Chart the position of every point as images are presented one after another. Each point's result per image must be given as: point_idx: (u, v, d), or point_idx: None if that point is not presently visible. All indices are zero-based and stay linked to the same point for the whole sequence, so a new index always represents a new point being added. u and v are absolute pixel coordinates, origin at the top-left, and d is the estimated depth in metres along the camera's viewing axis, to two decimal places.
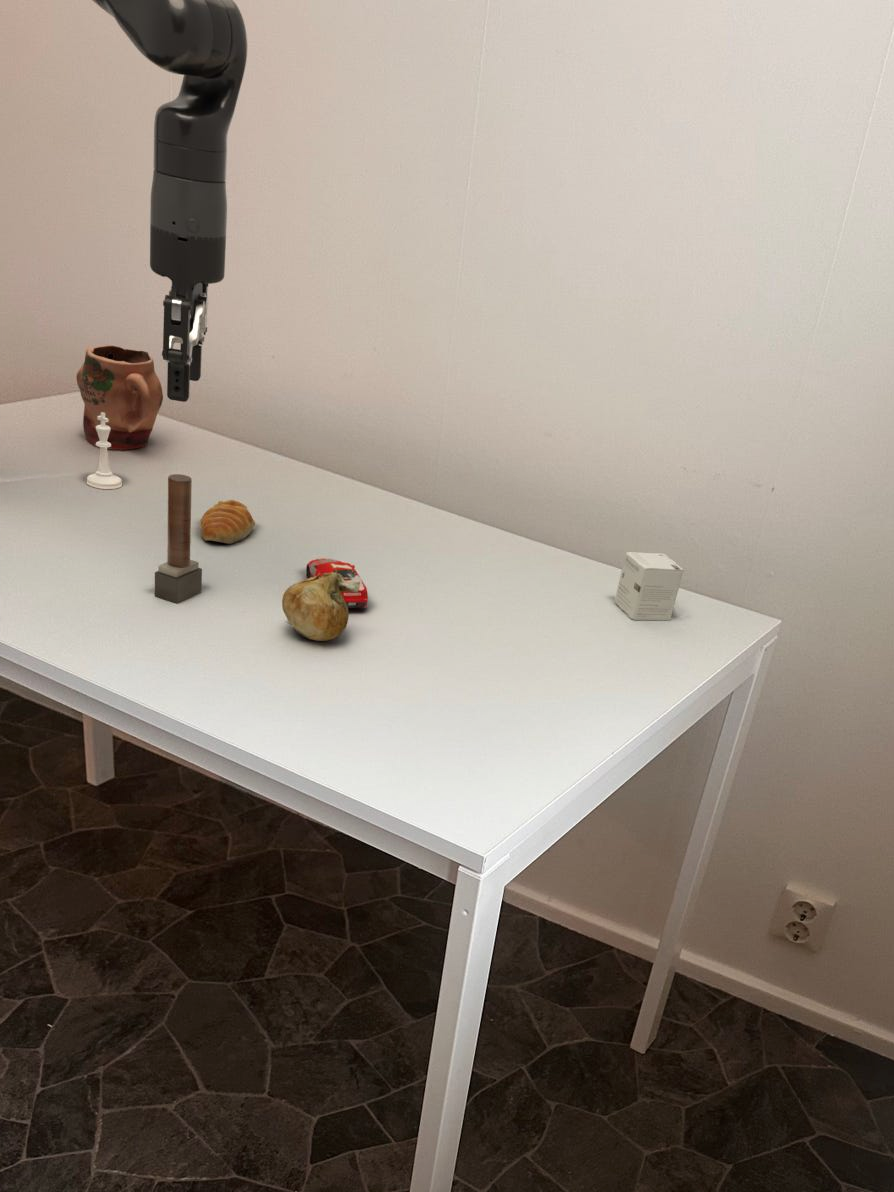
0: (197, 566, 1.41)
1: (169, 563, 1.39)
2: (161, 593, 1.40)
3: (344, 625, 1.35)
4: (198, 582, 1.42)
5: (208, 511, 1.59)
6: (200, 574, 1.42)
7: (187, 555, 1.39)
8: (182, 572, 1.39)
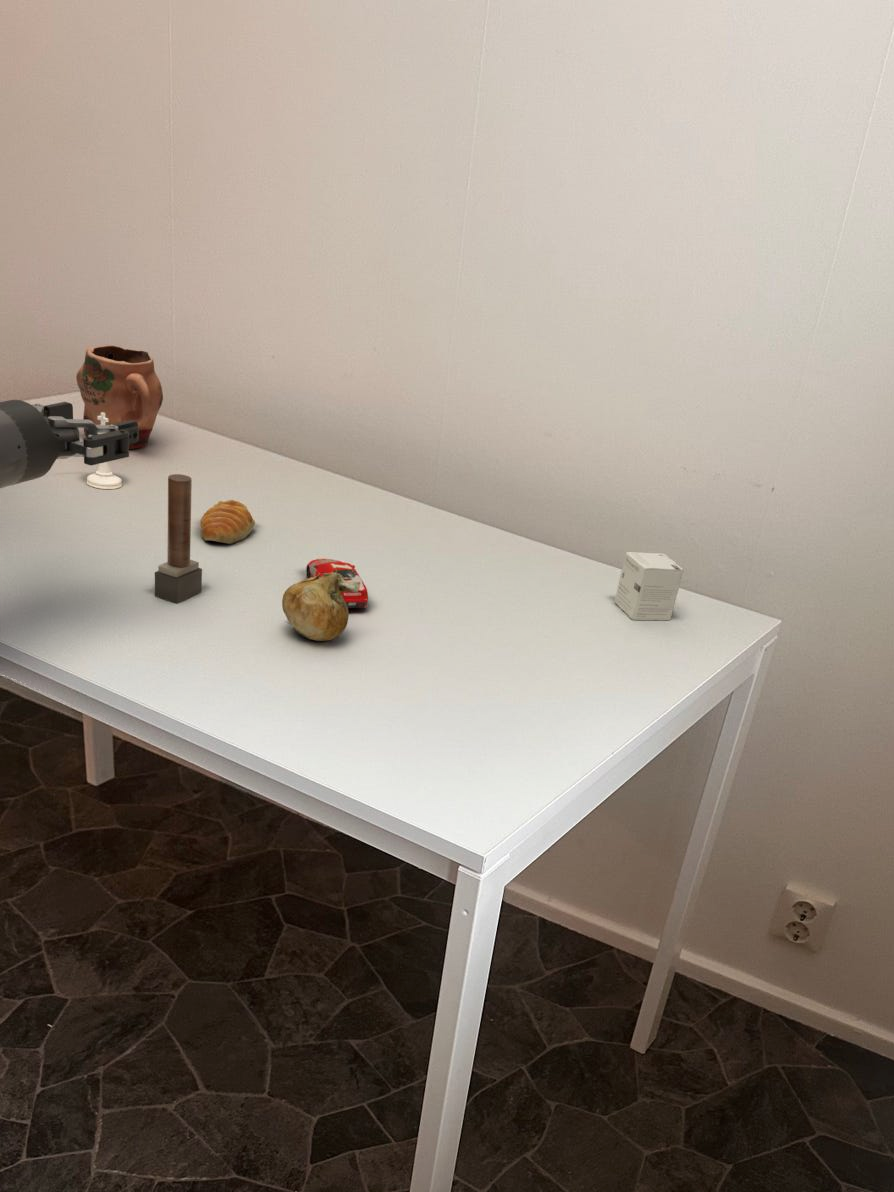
0: (197, 566, 1.41)
1: (169, 563, 1.39)
2: (161, 593, 1.40)
3: (344, 625, 1.35)
4: (198, 582, 1.42)
5: (208, 511, 1.59)
6: (200, 574, 1.42)
7: (187, 555, 1.39)
8: (182, 572, 1.39)
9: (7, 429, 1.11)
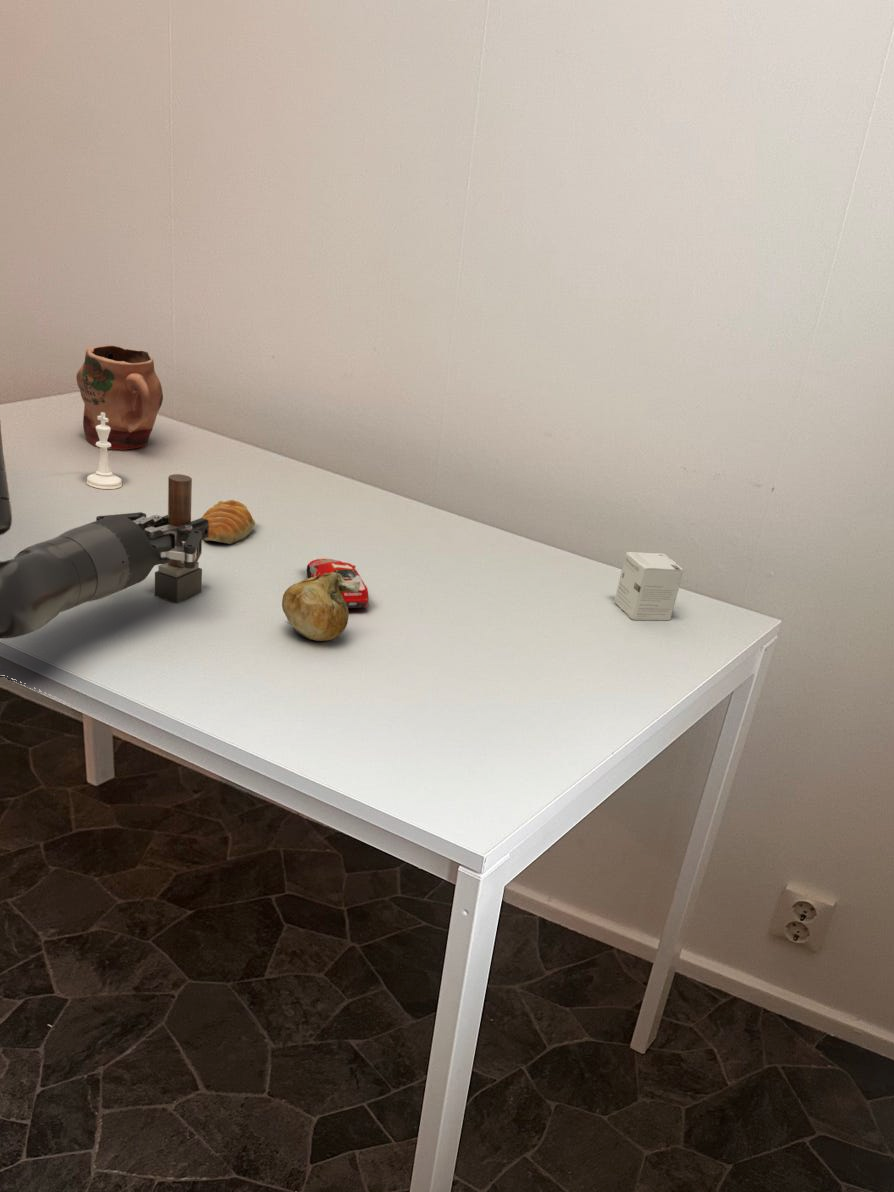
0: (197, 566, 1.41)
1: (169, 563, 1.39)
2: (161, 593, 1.40)
3: (344, 625, 1.35)
4: (198, 582, 1.42)
5: (208, 511, 1.59)
6: (200, 574, 1.42)
7: None
8: (182, 572, 1.39)
9: (113, 546, 1.23)
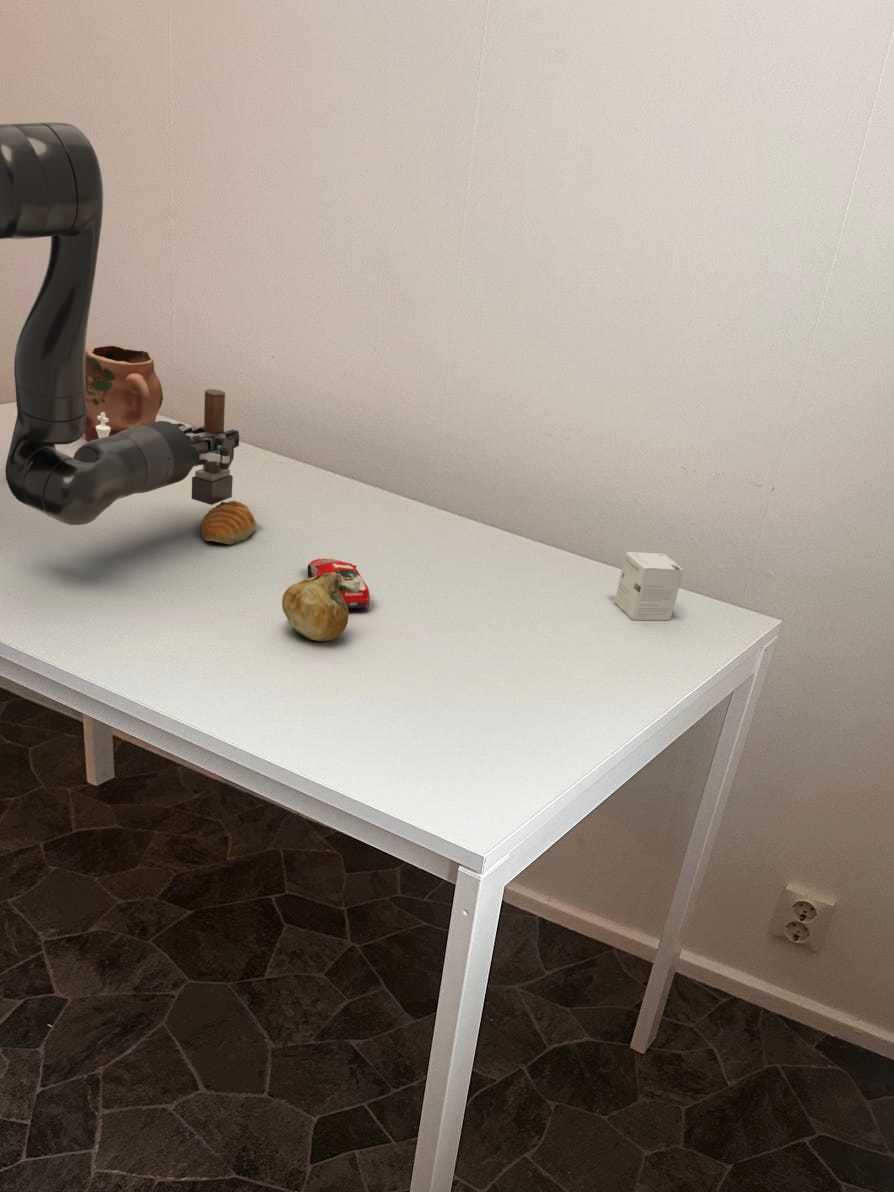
0: (228, 473, 1.61)
1: (204, 469, 1.58)
2: (197, 496, 1.59)
3: (344, 625, 1.35)
4: (229, 488, 1.62)
5: (209, 512, 1.59)
6: (231, 480, 1.61)
7: None
8: (216, 477, 1.58)
9: (160, 445, 1.43)
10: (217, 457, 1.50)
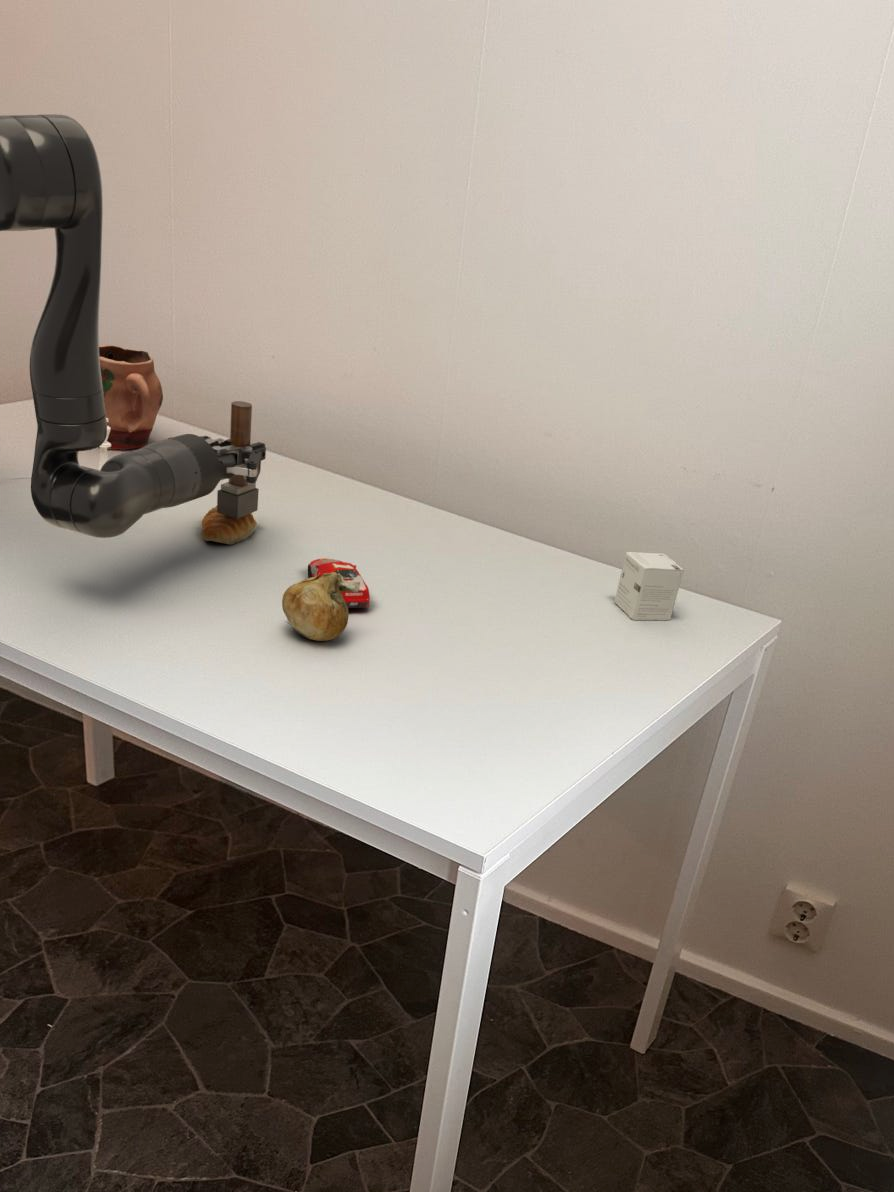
0: (254, 486, 1.58)
1: (230, 482, 1.55)
2: (223, 509, 1.56)
3: (344, 625, 1.35)
4: (255, 501, 1.59)
5: (209, 512, 1.59)
6: (257, 493, 1.58)
7: None
8: (242, 490, 1.55)
9: (188, 458, 1.40)
10: (244, 471, 1.47)
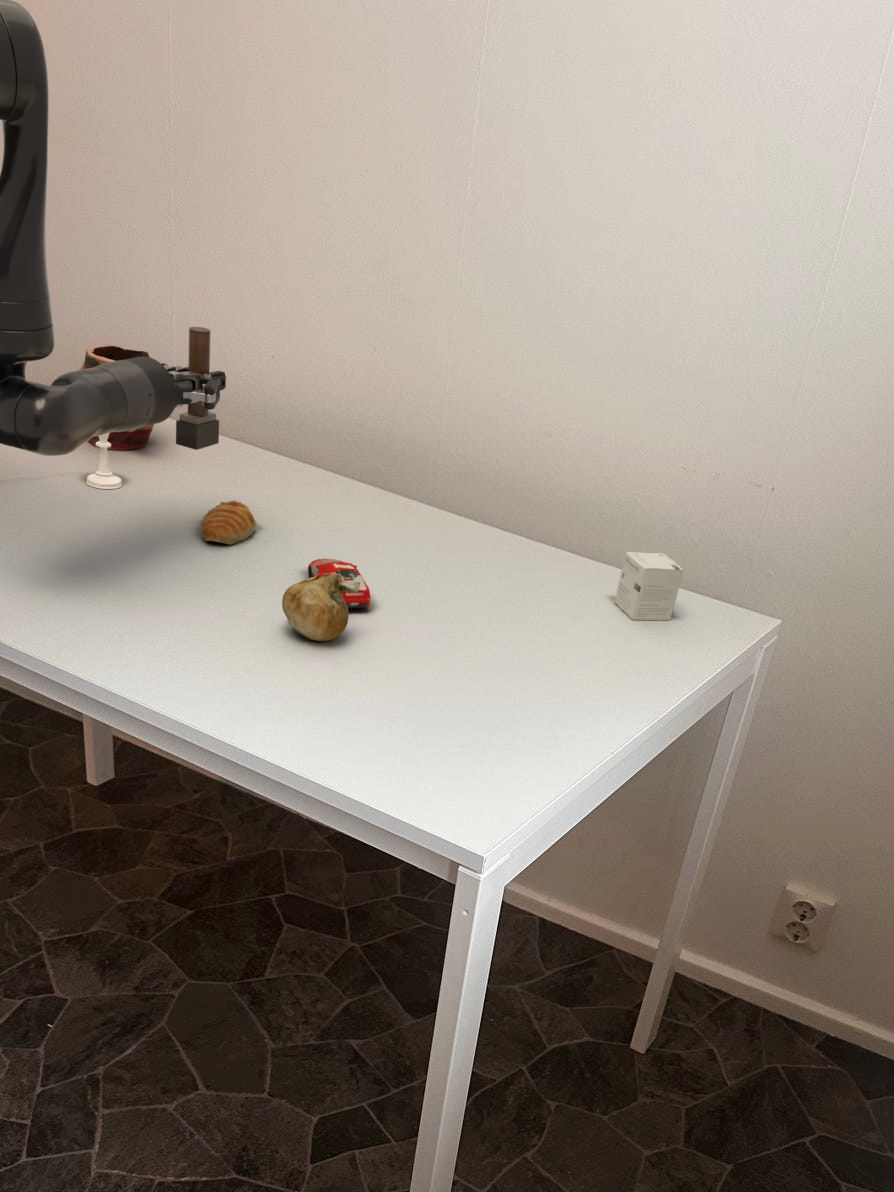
0: (215, 417, 1.53)
1: (189, 412, 1.51)
2: (182, 440, 1.51)
3: (344, 625, 1.35)
4: (215, 433, 1.54)
5: (209, 512, 1.59)
6: (217, 425, 1.54)
7: None
8: (201, 420, 1.51)
9: (141, 379, 1.35)
10: (202, 396, 1.42)
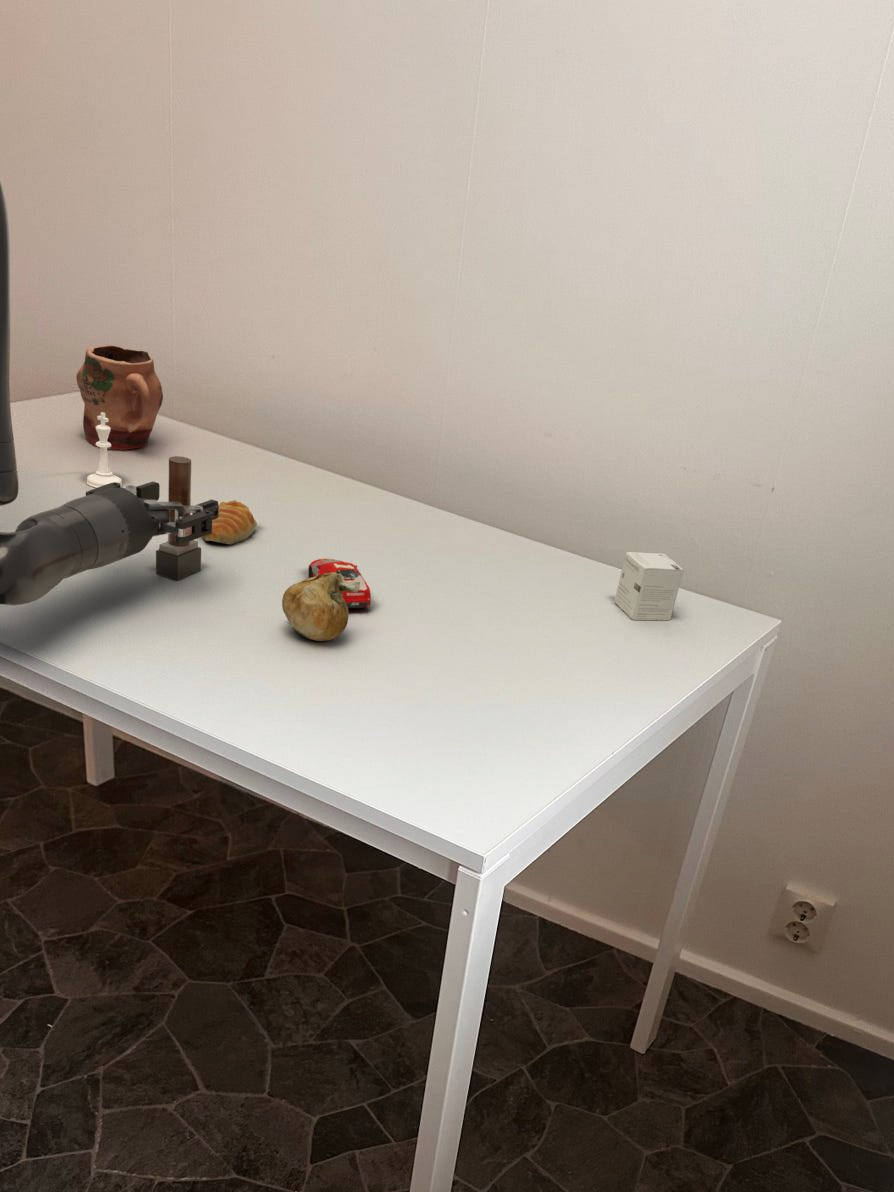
0: (196, 545, 1.47)
1: (170, 542, 1.44)
2: (162, 571, 1.45)
3: (344, 625, 1.35)
4: (197, 561, 1.48)
5: None
6: (199, 553, 1.48)
7: None
8: (182, 551, 1.44)
9: (113, 516, 1.28)
10: (172, 529, 1.34)
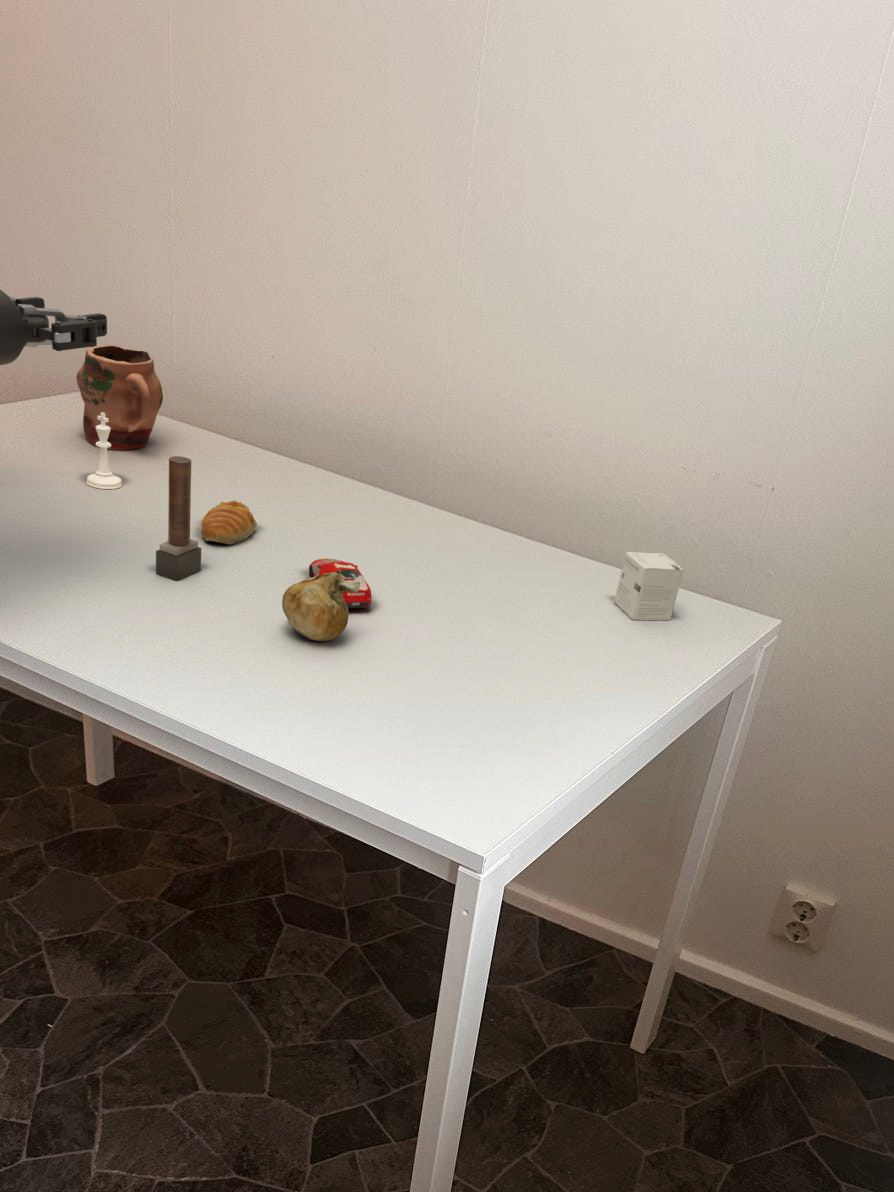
0: (196, 545, 1.47)
1: (170, 542, 1.44)
2: (162, 571, 1.45)
3: (344, 625, 1.35)
4: (197, 561, 1.48)
5: (209, 512, 1.59)
6: (199, 553, 1.48)
7: (187, 535, 1.44)
8: (182, 551, 1.44)
9: None
10: (48, 334, 1.22)
